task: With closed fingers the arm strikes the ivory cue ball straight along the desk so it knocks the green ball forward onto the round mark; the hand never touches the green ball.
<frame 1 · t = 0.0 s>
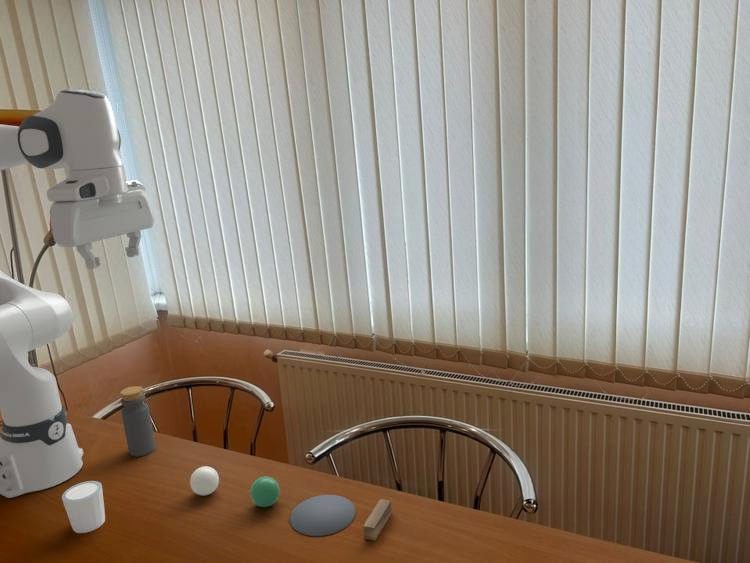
hand: (114, 261, 110), 48 cm above the table, tool pointing down, fingers open, 8 cm apart
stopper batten: (378, 525, 107), on the table
cue ball: (204, 480, 121), on the table
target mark: (322, 514, 111), on the table
green ball: (264, 491, 115), on the table
shot glass: (89, 524, 115), on the table
bottle: (142, 450, 141), on the table
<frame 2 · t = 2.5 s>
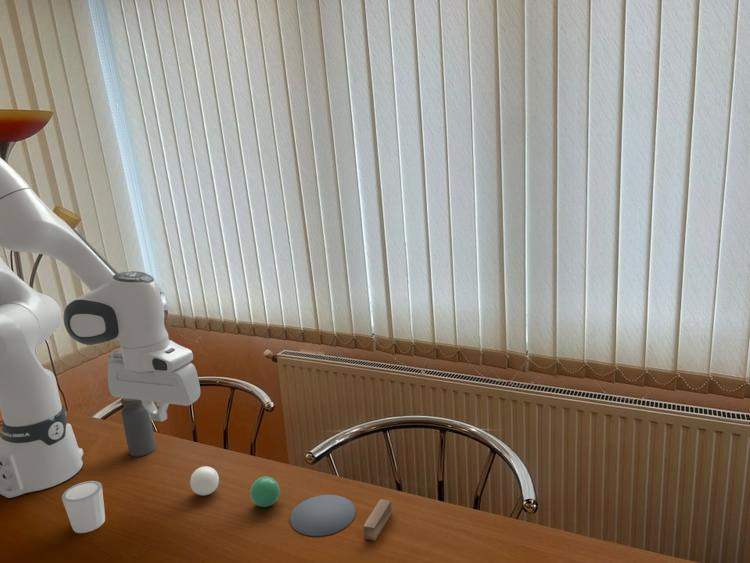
hand: (158, 419, 121), 15 cm above the table, tool pointing down, fingers closed
nothing on the table moved.
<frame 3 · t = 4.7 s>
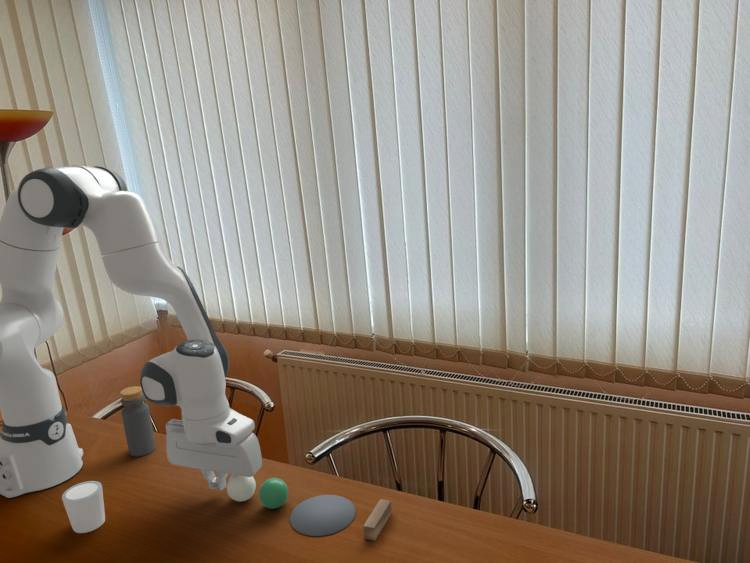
hand: (218, 487, 120), 2 cm above the table, tool pointing down, fingers closed
cue ball: (241, 486, 118), on the table
green ball: (273, 493, 115), on the table
everything else where it was.
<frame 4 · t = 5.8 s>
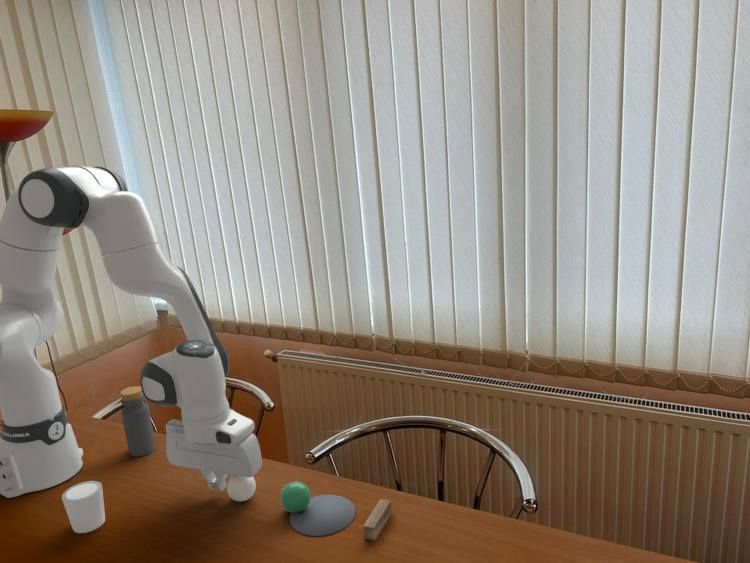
hand: (217, 488, 120), 2 cm above the table, tool pointing down, fingers closed
green ball: (295, 497, 113), on the table
everything else where it was.
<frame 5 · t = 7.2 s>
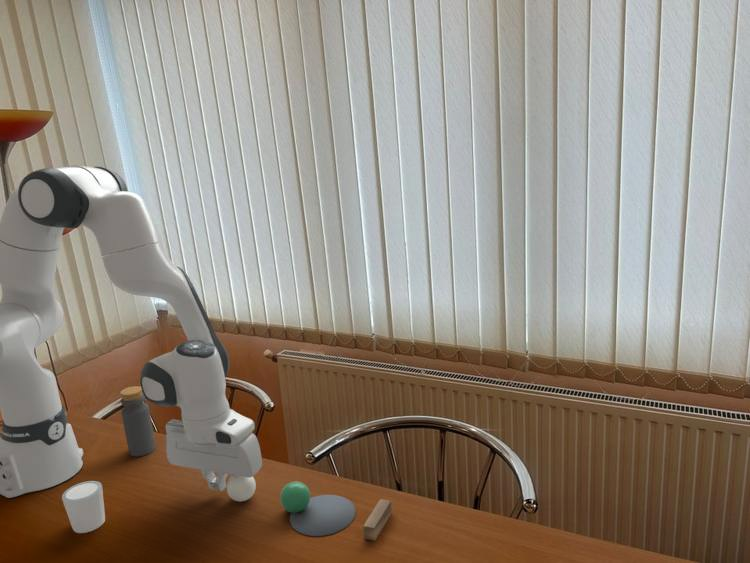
hand: (217, 488, 120), 2 cm above the table, tool pointing down, fingers closed
nothing on the table moved.
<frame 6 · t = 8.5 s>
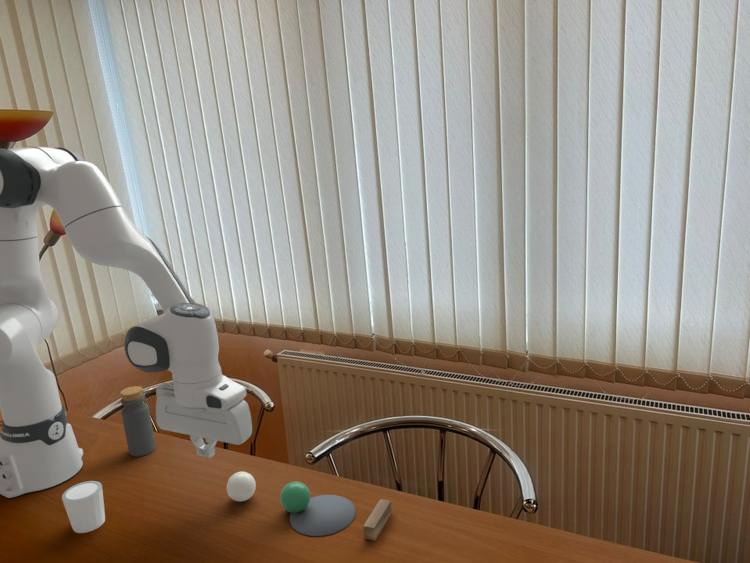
hand: (206, 455, 118), 9 cm above the table, tool pointing down, fingers closed
nothing on the table moved.
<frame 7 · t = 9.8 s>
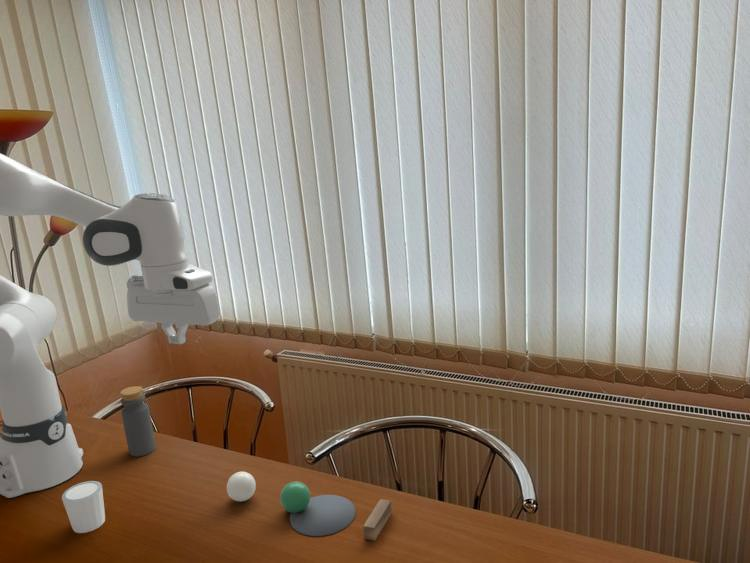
hand: (177, 342, 123), 29 cm above the table, tool pointing down, fingers closed
nothing on the table moved.
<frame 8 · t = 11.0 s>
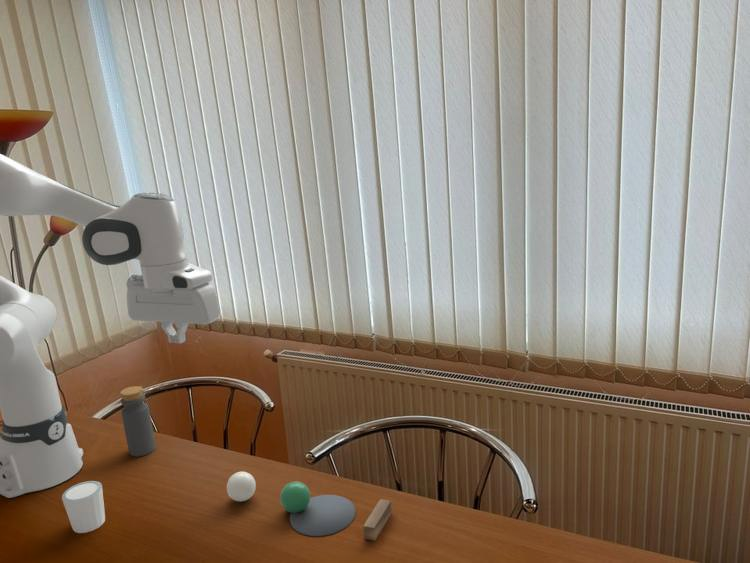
hand: (177, 342, 123), 29 cm above the table, tool pointing down, fingers closed
nothing on the table moved.
at the end: green ball 5.4 cm from the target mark (horizontally); green ball never touched the robot; cue ball first touched green ball at 4.5 s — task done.
